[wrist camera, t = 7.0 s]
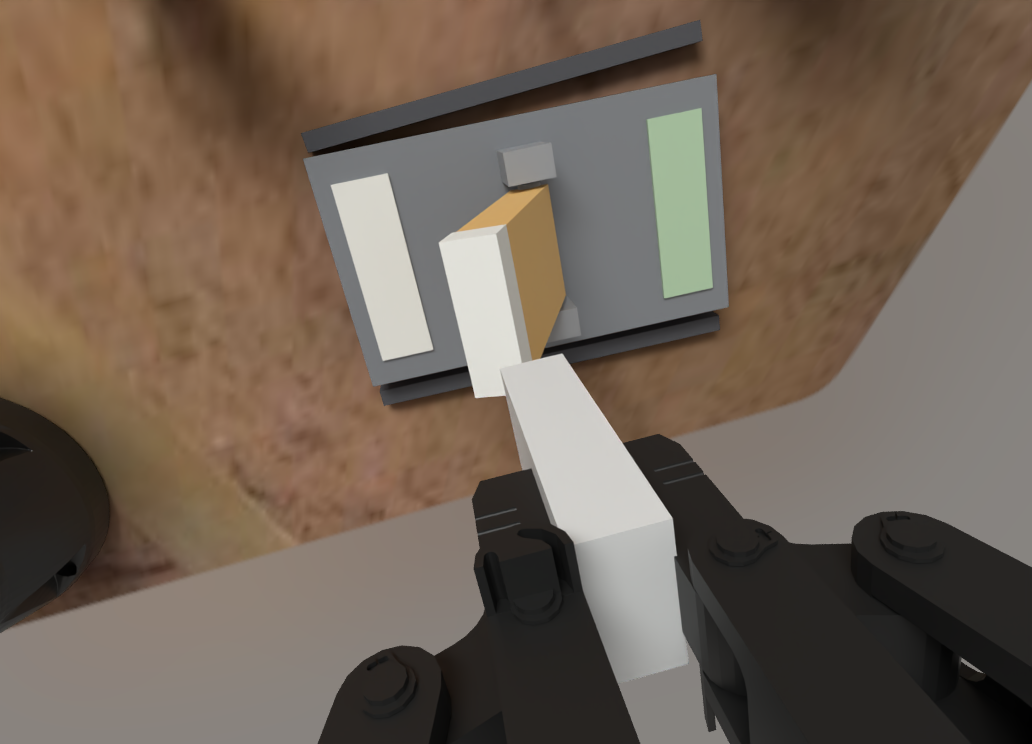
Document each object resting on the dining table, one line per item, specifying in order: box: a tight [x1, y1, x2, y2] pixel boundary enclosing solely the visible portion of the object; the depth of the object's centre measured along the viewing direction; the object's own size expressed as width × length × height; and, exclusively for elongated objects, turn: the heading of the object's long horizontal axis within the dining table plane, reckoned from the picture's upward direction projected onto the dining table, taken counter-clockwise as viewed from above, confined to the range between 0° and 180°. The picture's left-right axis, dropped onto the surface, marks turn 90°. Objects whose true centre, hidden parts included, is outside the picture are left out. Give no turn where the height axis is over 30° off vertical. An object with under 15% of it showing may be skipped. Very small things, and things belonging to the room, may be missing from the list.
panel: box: [303, 74, 729, 387], centre depth 34 cm, size 22×13×6 cm, turn 101°
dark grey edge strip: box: [380, 311, 720, 406], centre depth 39 cm, size 22×1×1 cm, turn 101°
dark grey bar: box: [301, 20, 703, 153], centre depth 33 cm, size 22×1×1 cm, turn 105°
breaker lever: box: [439, 181, 566, 398], centre depth 28 cm, size 2×6×13 cm, turn 11°
